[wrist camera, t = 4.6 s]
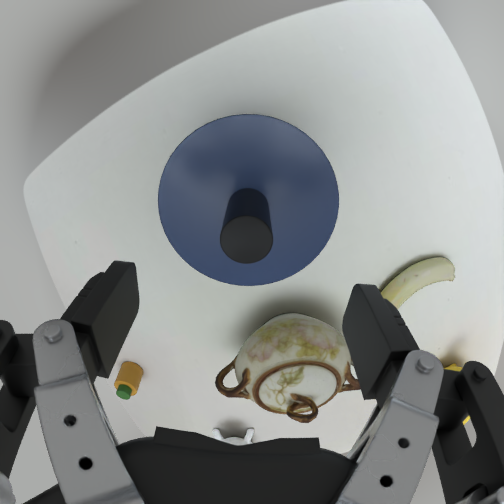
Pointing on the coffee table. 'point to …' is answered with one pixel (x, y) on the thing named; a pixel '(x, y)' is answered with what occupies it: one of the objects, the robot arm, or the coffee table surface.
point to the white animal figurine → (235, 438)
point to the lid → (248, 200)
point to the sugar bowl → (291, 366)
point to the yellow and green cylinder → (128, 380)
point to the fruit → (418, 279)
